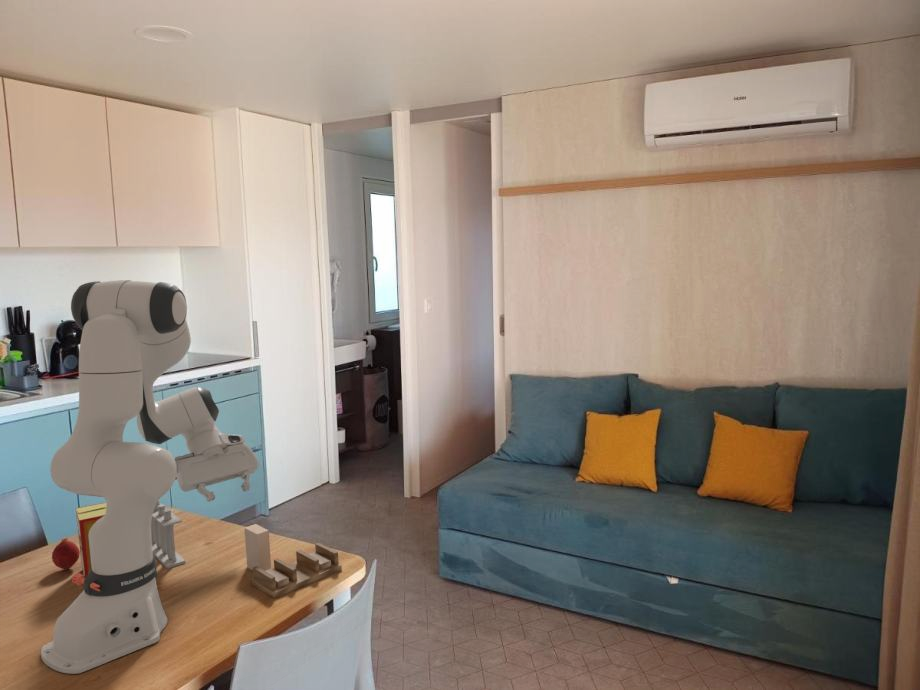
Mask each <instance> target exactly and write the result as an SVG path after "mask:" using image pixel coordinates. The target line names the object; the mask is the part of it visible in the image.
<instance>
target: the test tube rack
mask: <svg viewBox="0 0 920 690" xmlns="http://www.w3.org/2000/svg"><path fill="white" fill-rule="evenodd" d="M182 522H183V521H182V520H181V518H179V517H178V516H177V515H175V513H173V512H172V511H171V509H169V508H167V506H166V505H165V504H162V503H161V502H160V500H159V501H158V502H157V504H156V506H155V508H154V511H153V514H152V519H151V539H152V553H153V555H154V556H155V559H157V561H159V563H161V564H162V565H163V566H164V567H165V569H166V570H167V569H170V568H173V567H177V566H180V565H184V564H186V559H185V558H183V557H182V556H181V555H180V554H179V553H178V552H177V551H176V544H175V535H174V527H175V526H174V525H176V524H180V523H182Z"/></svg>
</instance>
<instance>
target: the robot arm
mask: <svg viewBox="0 0 920 690" xmlns="http://www.w3.org/2000/svg"><path fill="white" fill-rule="evenodd" d="M70 310H71V315H72V316H71V317H72V319H73V320H74V322H75V324H76V325H77V326H78V328H79V329H80V330H81V331H82V332H81V336H80V337H81V338H80V344H79V353H78V413H77V417H76V422H75V425H74V427H73V431H72V432H71V434H70V436H69V438H68V440H67V441H66V442H65V443H64V444H63V445H61V446H60V447H59V448H58V449H57V450H56V451H55V454H54V455H53V457H52V459H51V462H50V470H49V471H50V476H51V479H52V482H53V484H55V485H56V486H57V487H58V488H59V489H62V490H65V491H67V492H70V493H73V494H75V495H79V496H86V497H97V498H104V500H105V502H106V504H107V506H106V513H105V516H103V517H102V518H100V519H99V520H98V521H97V522H95V524H94V525H93V526H92V527H91V529H90V531H89V535H88V538H89V548H90V557H91V568H90V570H89V573H88V575H87V577H86V576H84V575H83V573H82V574H81V573H79V572H77V573H74V574H73V576H72V578H71V581H72V583H73V584H74V585H77V586H79V587H81V586H83V590H82V591H81V592H80V594H79V595H78V596H77V597H76V598H75V599H74V600H73V602H71V604H69V606H68V607H67V608H66V609H65V610H64V611H63V612H62V613H61V614H60V615H59V616H58V617H57V619H56V621H55V623H54V628H53V637H52V638H53V639H52V641H50V642H48V643H45V645H43V646H42V647H41V651H40V656H41V657H40V658H41V661H42V662H43V664H45V665H46V666H48V667H49V668H50V669H52V670H54V671H56V672H58V673H59V672H60V673H63V674H73V675H75V674H77V675H78V674H81V673H83V672H87V671H90V670H91V669H94V668H97V667H99V666H101V665H103V664H107V663H108V662H111V661H113V660H116V659H118V658H121V657H124V656H126V655H128V654H131V653H133V652H136V651H138V650H141V649H143V648H144V649H145V647H148V646H151V645H153V644H155V643H157V642H159V641H160V638H161V633H162V631H163V630H164V628H165V627H166V626H167V623H168V616H167V614H166V613H165V610H164V608H163V605H162V601H161V598H160V595H159V591H158V586H157V579H158V578H157V577H158V573H157V572H158V571H157V570H158V569H157V561H156V557H155V556H154V555H153V553H152V539H151V519H152V514H153V511H154V508H155V506H156V504H157V502H158V501H159V502H160V499H161V498H162V497H164V496H165V495H166V494H167V493H168V492H169V491H170V490H171V489H172V486H173V485H174V483H175V481H176V479H177V482H178V483H177V484H178V487H179V488H180V490H181V491H183V492H184V493H186V492H190V491H193V490H197V493H199V494H200V495H202V496H203V497H205V499H206V501H207V502H208V503H209V502H213V501H215V499H216V495H215V493H214V491H210V490H208V489H206V487H208V486H212V485H215V484H220V483H223V482H228V481H230V480H234V479H237V478H241V480H242V481H243V482H242V484H241V485H240V487H241V489H242V491H243V492H247V491H250V489H251V487H252V486H251V484H250V482H249V481H250V480H249V479H250V475H252V474H255V473H256V471H257V470H258V468H259V465H260V461H259V460H258V458H257V455H256V454H255V453H254V451H253V449H252V447H250V446H249V445H248V444H246V443H245V438H244V436H243V435H240V434H229V433H223V432H221V430H220V429H219V428H218V427H217V425H216V421H217V418H218V416H219V412H220V410H219V407H218V406H217V404H216V403H215V401H214V400H213V396H212V393H211V391H210V390H208V389H206V388H204V387H201V386H193V387H190V388H188V389H185V390H183V391H180V392H178V393H176V394H173V395H171V396H168V397H166V398H164V399H161V400H159V401H155V395H154V389H153V386H154V385H155V384H154V383H155V382H156V381H157V379H159V378H160V377H161V376H162V375H163V374H164V373H166V372H167V371H168V370H169V369H171V368H172V367H175V365H177V364H179V363H180V361H182V360H183V359H184V357H185V356H186V355H187V353H188V352H189V350H190V347H191V342H192V340H191V332H190V329H189V325H188V323H187V320H186V319H187V310H188V306H187V300H186V296H185V294H184V293H183V291H182V290H181V289H180V288H179V287H178V286H177V285H175V284H172V283H169V282H165V281H164V282H162V281H159V282H149V281H137V280H135V281H134V280H128V279H127V280H126V279H125V280H109V281H100V280H99V281H98V280H96V281H95V280H94V281H90V282H85V283H83V284H81V285H79V286H78V287H77V289H76V290H75V291H74V293H73V295H72V297H71V301H70ZM135 417H136V424H137V429H138V431H139V434H140V435H141V437H142V438H143V439H144V440H145V442H135V441H133V442H131V441H124V440H123V438H124V437H123V436H124V431H125V428H126V426H127V424H128V422H129V421H130V420H133V419H134V418H135ZM179 435H182V436H183V437H184V439H185V443H186V447H187V449H188V452H189V453H186V454H183V455H179V456H175V457H174V455H173V453H172V452H170V451H169V450H168V449H165V448H163V447H160V446H157V445H162V444H164V443H166V442H167V441H169V440H172V439H173V438H175V437H177V436H179ZM146 442H149V443H146ZM154 444H156V445H154Z"/></svg>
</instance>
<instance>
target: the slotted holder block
mask: <svg viewBox="0 0 920 690" xmlns="http://www.w3.org/2000/svg"><path fill="white" fill-rule="evenodd" d="M295 554H296V555H295V556H296V557H295V558H296V560H295V561H293V562H290V563H287V562H285V561H284V560H282V559H280V558H278V557H276V558H275V559H273V567H274V568H273V567H271V569H268V570H265V571H264V570H263V569H261V568H259V567H258V566H255V567H253V570H252V575H253V576H252V577H251V578H250V583H251V585H253V586H254V587H256V588H257V589H258V590H260V589H261V590H260V591H263V592H264V593H265V594H266V595H269V596H270V597H271V598H273V599H276V598H278V597H281V596H283V595H286V594H287V593H290V592H293V591H295V590H297V589H299V588H302V587H304V586H307V585H310V584H312V583H313V582H316V581H318V580H321V579H324V578H325V577H328V576H331V575H333V574H336V573H338V572H339V571H342V570H343V568H342V567H343V566H342V564H340V562H339V551H337V550H334V549H333V548H331V547H328V546H327V545H324V544H322V543H321V542H317V543H315V551H312V552H310V553H307V552H305V551H303V550H301V549H298V550H296V551H295Z"/></svg>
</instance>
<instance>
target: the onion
mask: <svg viewBox="0 0 920 690" xmlns="http://www.w3.org/2000/svg"><path fill="white" fill-rule="evenodd" d="M80 556H81V555H80V547H78V545H77V544H76V543H74V542H72V541H69V540H68V537H65V536H64V537H63V538H62V539H61V541H60V543H58V544H57V545H56V546H55V547H54V549H53V551H52V554H51V560H52V562H53V564H54V565H55V567H57V568H60V569H62V570H65V569H68V570H70V569H71V568H72V567H73V566H74V565H75V564H76V563H77V562H78V560H79V558H80ZM69 568H70V569H69Z"/></svg>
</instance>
